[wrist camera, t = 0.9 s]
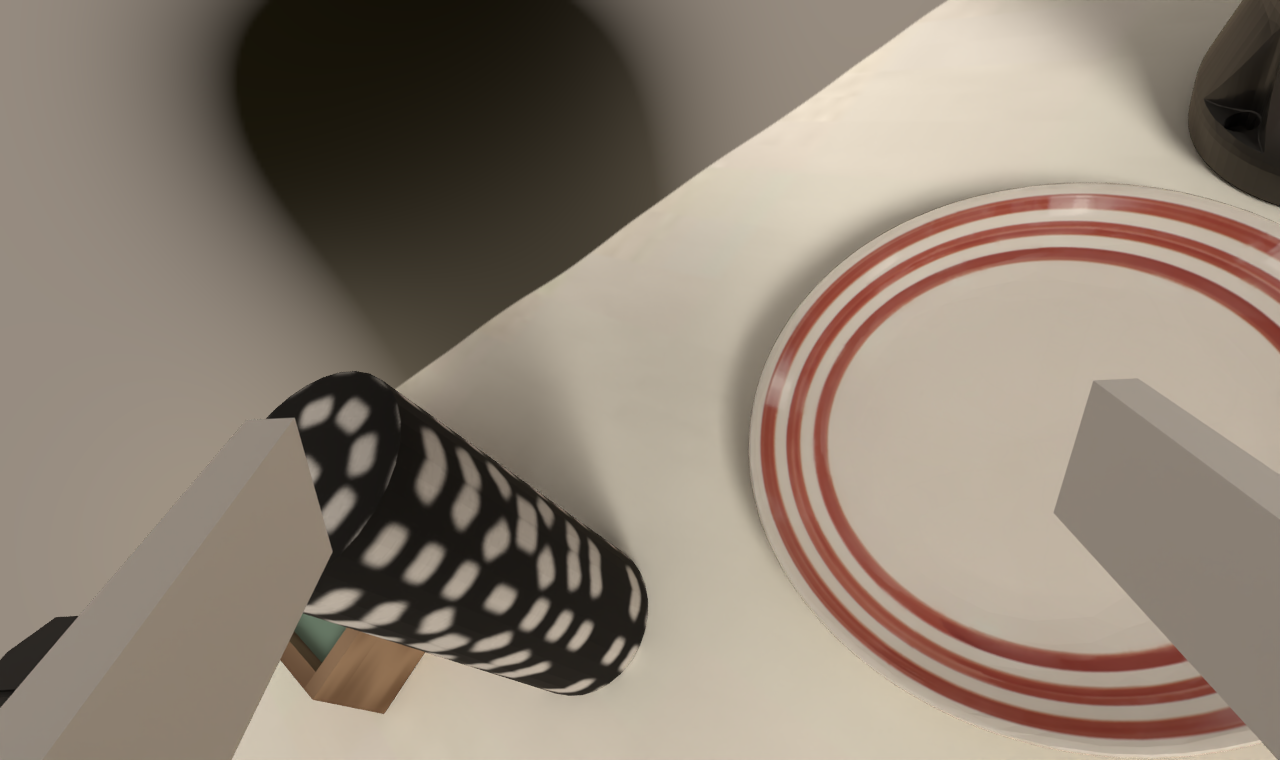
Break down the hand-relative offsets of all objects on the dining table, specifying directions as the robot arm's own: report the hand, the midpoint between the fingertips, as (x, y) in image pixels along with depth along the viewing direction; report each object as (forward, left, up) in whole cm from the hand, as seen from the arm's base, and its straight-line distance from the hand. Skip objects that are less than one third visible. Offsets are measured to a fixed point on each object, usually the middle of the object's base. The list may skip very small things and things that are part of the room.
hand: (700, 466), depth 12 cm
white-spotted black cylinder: (+5, -16, -25) cm, 31 cm away
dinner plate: (-14, +1, -26) cm, 29 cm away
